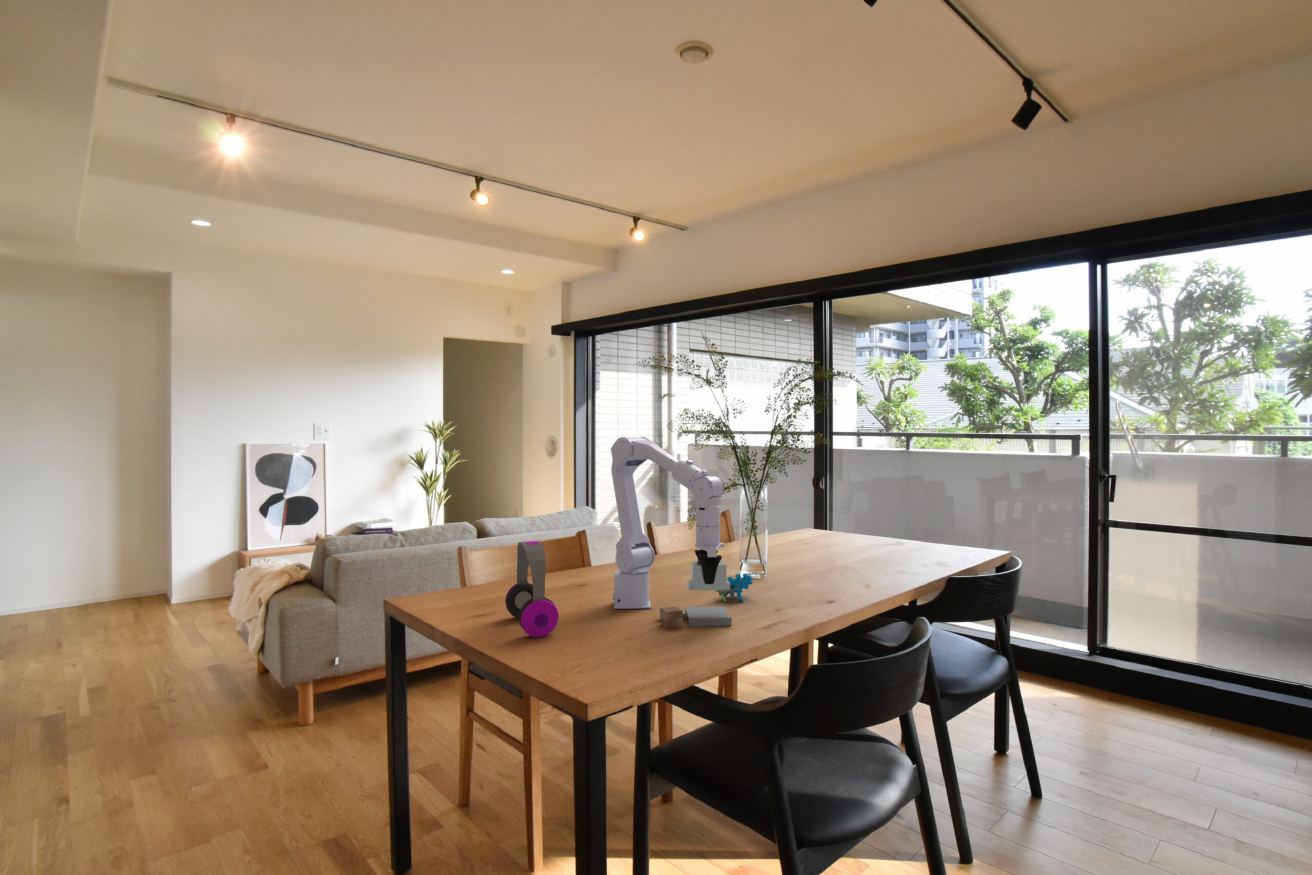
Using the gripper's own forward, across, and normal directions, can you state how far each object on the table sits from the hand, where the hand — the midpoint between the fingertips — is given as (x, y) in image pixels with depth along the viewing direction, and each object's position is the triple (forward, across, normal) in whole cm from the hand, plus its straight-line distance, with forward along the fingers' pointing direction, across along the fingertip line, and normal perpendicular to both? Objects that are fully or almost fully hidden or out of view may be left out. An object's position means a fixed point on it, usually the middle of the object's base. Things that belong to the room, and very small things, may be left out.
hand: (707, 581), depth 164 cm
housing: (+2, 0, 0) cm, 2 cm away
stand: (+9, 0, 0) cm, 9 cm away
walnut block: (+10, -4, +9) cm, 14 cm away
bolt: (+9, +1, +8) cm, 12 cm away
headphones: (+10, -3, +42) cm, 43 cm away
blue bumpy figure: (+10, +20, -10) cm, 25 cm away
